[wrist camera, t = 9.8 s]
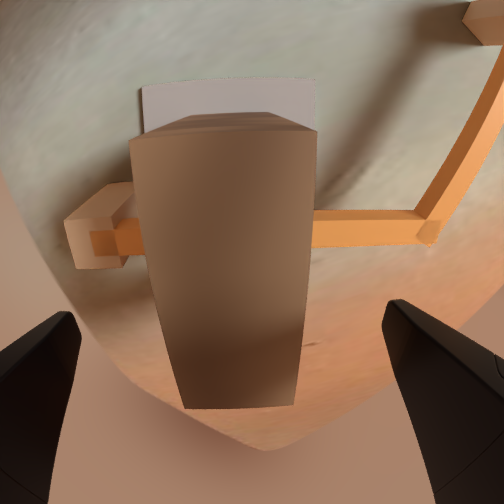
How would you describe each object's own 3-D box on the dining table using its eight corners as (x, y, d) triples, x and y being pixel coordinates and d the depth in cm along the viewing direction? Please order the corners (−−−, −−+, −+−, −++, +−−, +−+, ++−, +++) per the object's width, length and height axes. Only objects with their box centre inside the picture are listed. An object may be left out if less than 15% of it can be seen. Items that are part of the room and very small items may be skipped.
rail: (93, 204, 17) (49, 247, 12) (407, -78, 8) (450, -107, 4) (250, 323, 22) (255, 385, 17) (516, 69, 13) (570, 77, 8)
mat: (313, 79, 14) (315, 79, 14) (304, 288, 21) (305, 290, 20) (143, 86, 14) (141, 86, 14) (168, 293, 20) (167, 296, 20)
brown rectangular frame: (268, 111, 15) (317, 131, 6) (268, 267, 19) (293, 404, 10) (190, 115, 15) (128, 140, 6) (203, 269, 19) (184, 408, 10)
